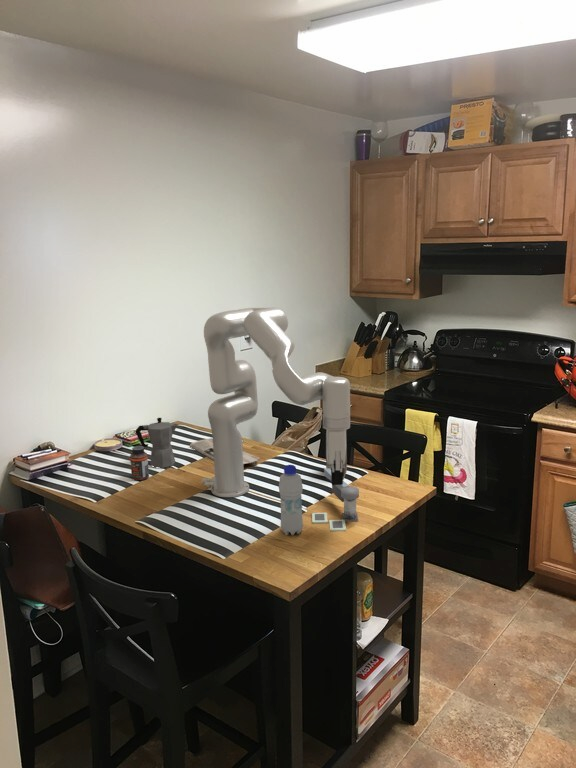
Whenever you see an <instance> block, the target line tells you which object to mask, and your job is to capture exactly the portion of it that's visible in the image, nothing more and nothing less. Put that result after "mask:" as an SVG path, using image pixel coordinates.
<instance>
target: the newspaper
mask: <svg viewBox="0 0 576 768" xmlns="http://www.w3.org/2000/svg"><path fill="white" fill-rule="evenodd" d="M189 447H190V448H191V447H192V448H191V449H193V450H194V449H195V450H194V451H196V452H198V453H199V454H202V455H203V456H205V457H207V458H209V459H211V461H214V451H213V438H205V439H200V440H196V441H194V442H192V443H190V444H189ZM260 459H261V457H259V456H256V455H254V454H252V453H248V452H246V451H244V450H243V465H245V464H248V465H250V466H256V465H257V464H258V461H259V460H260Z"/></svg>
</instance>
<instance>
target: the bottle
mask: <svg viewBox="0 0 576 768" xmlns="http://www.w3.org/2000/svg"><path fill="white" fill-rule="evenodd" d="M278 481H279V482H278V490H279V491H278V493H279V494H280V529H281V531H282V532H283V533H284V534H285V535H287V536H288V535H289V533H290V534H291V536H294V535H295V534H297V535H299V534H300V533H301V532H302V530H303V527H304V525H303V524H304V521H303V508H302V507H303V506H302V494H303V482H302V477H301V475H300V474H299V473H297V467H296V465H294V464H288V465H287V464H286V465H285V466H284V468H283V474H281V475H280V476H279V479H278Z"/></svg>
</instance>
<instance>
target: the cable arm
mask: <svg viewBox="0 0 576 768" xmlns="http://www.w3.org/2000/svg"><path fill="white" fill-rule="evenodd" d="M323 475H324V476H325V478H326V477H327V478H328V479H327V478H326V479H327V480H329V481H330V482H331V469H330V468H327V469H326V468H324V469H323ZM331 492H332V493H333V495H335V497H337V499H339V500H340V502H341V503H344V499H347V500H354V499H356V500H357V499H359V497H360V489H359V488H358V487H357V486H353V485H349V484H347V483H346V482H345V480H343V484H342V485H332V484H331Z"/></svg>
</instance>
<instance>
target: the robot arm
mask: <svg viewBox="0 0 576 768" xmlns="http://www.w3.org/2000/svg"><path fill="white" fill-rule="evenodd" d="M203 326H204V327H203V338H204V343H205V346H206V350H207V351H206V352H207V361H208V363H207V364H208V372H209V373H208V374H209V384H210V387H211V390H212V391H213V393H214V394H216V395H227V394H230V393H234V394H231V395H227V396H224V397H222V398H221V397H220V398H218V399H216V400H214V401H213V402H212V403H211V404H210V405H209V407H208V410H207V416H208V417H207V418H208V421H209V426H210V429H211V435H212V439H213V451H214V460H213V462H214V463H213V465H214V476H212V477H210V478H209V477H202V480H201V483H202V484H204V486H205V487H210V486H211V487H210V492H211V493H212V495H214V496H216V497H220V498H235V497H240V496H243V495H245V494H247V493H248V492H249V491H250V485H249V482H247V481H245V472H244V471H245V469H244V464H243V451H244V450H243V449H244V448H243V438H242V437H243V436H242V435H241V432H240V431H239V430H238V428H237V425H240V424H241V423H245V422H247V421H249V420H252V419H253V418H255V416H256V414H257V413H258V407H259V406H258V405H259V401H258V399H259V398H258V388H257V387H258V386H257V376H256V371H255V369H254V367H253V366H252V364H251V363H250V362H248V361H247V360H244V359H237V360H236V353H235V351H236V350H235V349H234V346H233V344H232V342H231V341H230V340H231V339H236V338H242V337H246V336H247V337H248V336H249V338H250V339H251V340H252V341H253V342H254V343H255V344H256V346H257V347H258V348H259V349H260V350H261V352H262V353H264V355H265V356H266V357H267V358H268V359H269V360H270V362H271V372H272V376H273V379H274V381H275V384H276V385H277V387H278V388H279V389H280V391H281V392H282V393H283V394H284V395H285V396H286V398H288V399H289V400H290V401H291V402H292V403H293V404H296V405H299V406H305V405H308V404H311V403H313V402H316V401H319V400H322V429H325V430H326V434H325V456H326V455H327V463H328V465H330V464H332V470H331V481H330V482H331V486H332V485H342V484H343V481H344V479H343V469H342V464H345V456H346V430H348V429H350V428H351V384H350V383H351V382H350V380H349V379H348V378H346V377H343V376H333V375H331V374H328V373H325V372H323V371H321V372H320V371H318V372H314V373H310V374H307V375H303V376H301V377H300V376H299V375H298V374H297V372H295V371H294V369H293V368H292V367H291V365H290V363H289V360H288V359H289V357H290V356H292V354H293V352H294V349H295V342H294V340H292V339H291V338H290V337H289V335H288V334H287V333H286V331H287V329H288V327H289V319H288V317H287V315H286V314H285V312H284V311H283V310H282V309H280V308H278V307H246V308H239V309H232V310H226V311H221V312H218V313H215V314H213V315H211V316H209V317H208V318H207V319H206V321H205V323H204V325H203Z"/></svg>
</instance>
